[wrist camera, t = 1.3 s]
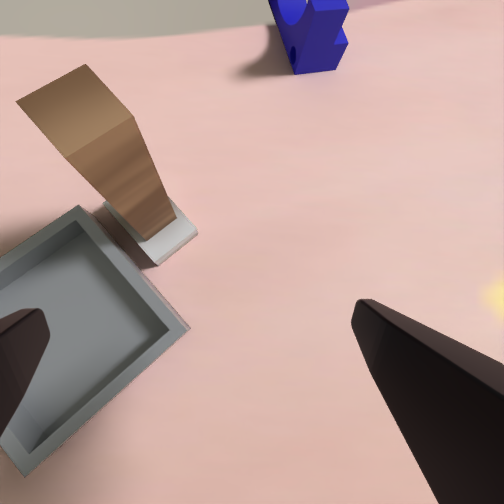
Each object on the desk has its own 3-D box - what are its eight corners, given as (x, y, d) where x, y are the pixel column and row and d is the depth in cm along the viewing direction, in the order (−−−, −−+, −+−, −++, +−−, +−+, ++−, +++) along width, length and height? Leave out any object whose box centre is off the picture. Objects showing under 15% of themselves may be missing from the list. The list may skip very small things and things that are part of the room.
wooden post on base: (198, 234, 22) (174, 137, 10) (158, 266, 21) (78, 202, 9) (151, 181, 22) (73, 28, 10) (110, 210, 21) (-29, 78, 9)
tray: (51, 454, 17) (24, 477, 15) (-53, 319, 18) (-94, 321, 16) (190, 328, 20) (187, 330, 18) (94, 216, 21) (78, 204, 19)
